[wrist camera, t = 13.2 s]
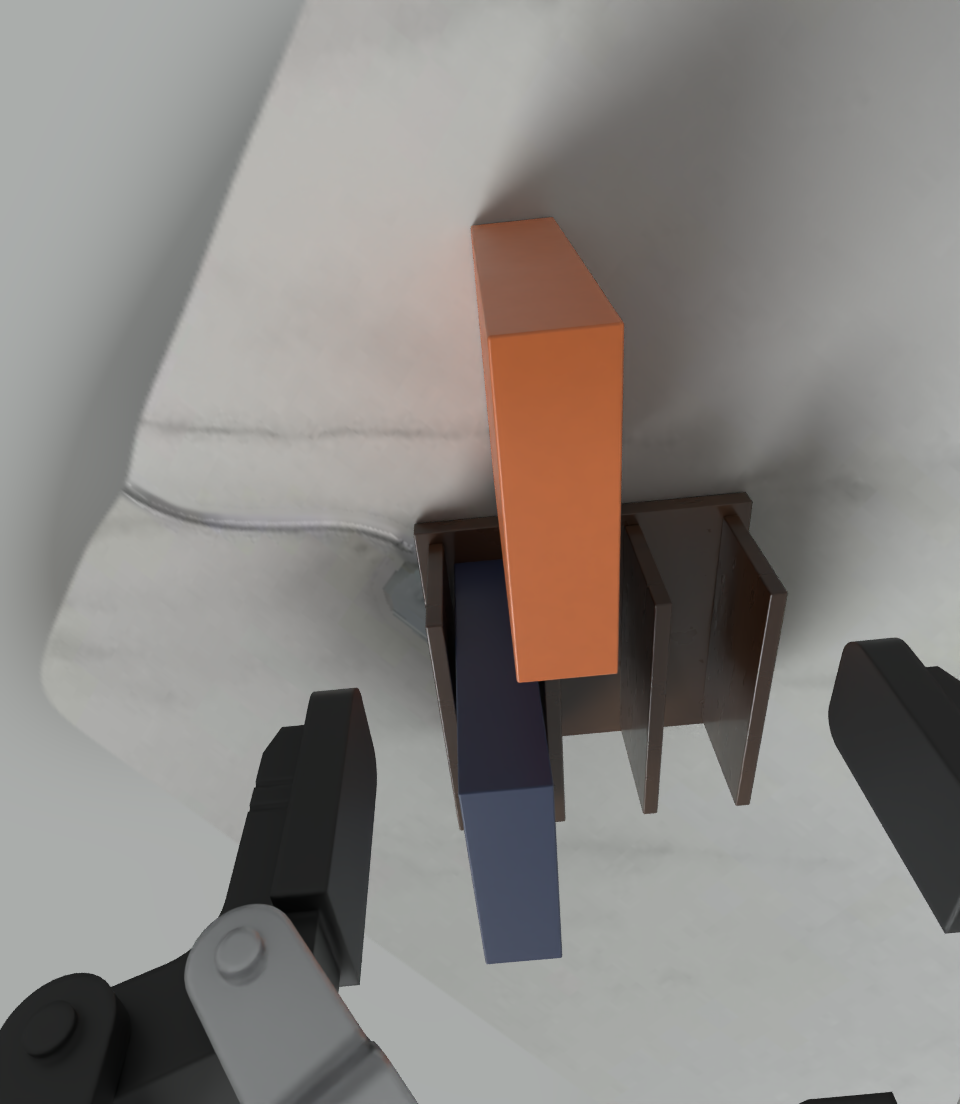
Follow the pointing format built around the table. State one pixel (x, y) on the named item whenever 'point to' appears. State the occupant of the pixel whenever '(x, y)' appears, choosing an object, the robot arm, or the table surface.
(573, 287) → the orange book
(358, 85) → the table surface
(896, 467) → the table surface
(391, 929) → the table surface
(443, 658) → the book rack
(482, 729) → the navy book
